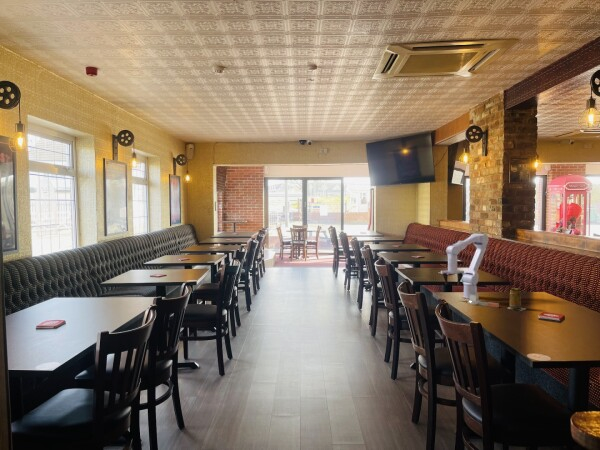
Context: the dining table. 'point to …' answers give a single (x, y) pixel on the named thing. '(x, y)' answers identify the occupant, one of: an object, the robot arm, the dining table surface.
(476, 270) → the robot arm
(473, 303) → the metal scoop
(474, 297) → the brushed metal cube
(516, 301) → the condiment
